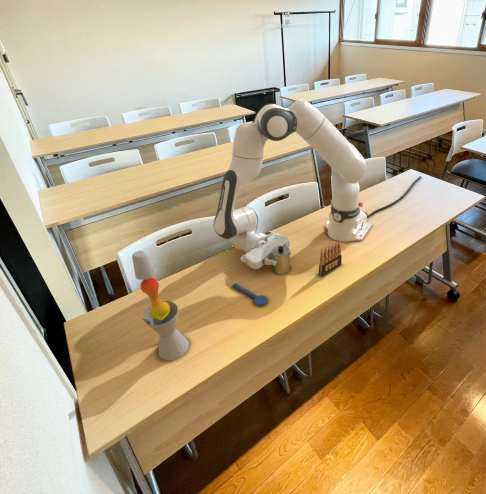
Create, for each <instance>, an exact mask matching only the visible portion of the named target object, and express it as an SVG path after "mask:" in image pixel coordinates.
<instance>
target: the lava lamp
mask: <svg viewBox="0 0 486 494" xmlns="http://www.w3.org/2000/svg"><path fill="white" fill-rule="evenodd" d="M131 259H132V264H133V270H134V276H135V278H136V280H140V281H141V282H140V284H139V285H140V290H141V292H142V293H143V294H145V295H147V296H148V297H149V299H150V302H151V305H150V306H149V307H148V308H147V309H146V310H145V311H144V313H143V314H142V319H143V321H144V323H145V324H146V325H147V326H148V327H149V328H151V329H152V330H153V331H154V332H156V333H157V334H158V335H159V338H158V356H159V358H161V359H162V360H165V361H174V360H177V359H179V358H181V357H182V356H184V354H186V353H187V352H188V349H189V346H190V344H189V343H190V342H189V340H188V339H187V338H186V336H184V335H183V334H182V333H181V332H180V331H179V329H177V328H176V327H177V320H178V313H179V309H178V305H177V304H176V303H175V302H173V301H170V300H164V301H163V300H162V301H161V300H160V297H159V288H160V283H159V281H158V280H157V278H155V277H154V276H156V274H157V269H156V268H155V266H154V263H153V262H152V260H151V259H150V257H149V256H148V253H147V252H146V251H145V250H136V251H135V252H133V253H132V256H131Z"/></svg>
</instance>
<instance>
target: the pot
mask: <svg viewBox="0 0 486 494" xmlns="http://www.w3.org/2000/svg"><path fill="white" fill-rule="evenodd" d="M290 252H291V250H290V247H287V246H283V245H280V246H276V247H274V248H273V249H272V254H273V259H275V260H277V261H278V264H277V265H276V266H274V265H273V271H274V272H275V273H276V274H278V275H286V274H288V273H290V271H291V263H290V262H291V260H290V259H291V257H290V256H291V255H289V253H290ZM273 259H272V260H273Z"/></svg>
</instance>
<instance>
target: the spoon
mask: <svg viewBox="0 0 486 494" xmlns="http://www.w3.org/2000/svg"><path fill="white" fill-rule="evenodd" d="M232 286H233V287H234V288H236V289H238V290H239V291H240V292H242V293H244V294H246V295H247V296H249V297H250V298H252V299H253V300H254V301H253V303H254V304H255V305H256V306H258V307H263V306H265V305H267V304H268V297H267V296H266V295H263V294H260V295H257V294H256V293H254V292H252V291H250V290H248V289H247V288H245V287H243V286H242V285H240V284H238V283H237V282H233V285H232Z"/></svg>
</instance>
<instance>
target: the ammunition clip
mask: <svg viewBox="0 0 486 494" xmlns="http://www.w3.org/2000/svg"><path fill="white" fill-rule="evenodd" d="M342 255H343V254H342V241H340V239H339V241H337V240H335V242H332V243H331V245H330V244H328V247H327V246H325V247H324V248H321V250H320V257H319V263H318V275H319V276H320V277H324V276H325V275H327V274H329V273H331V272H332V271H333V270H336V269H337V268H339V267H340V266H342V260H343V259H342V258H343V257H342Z"/></svg>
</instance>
